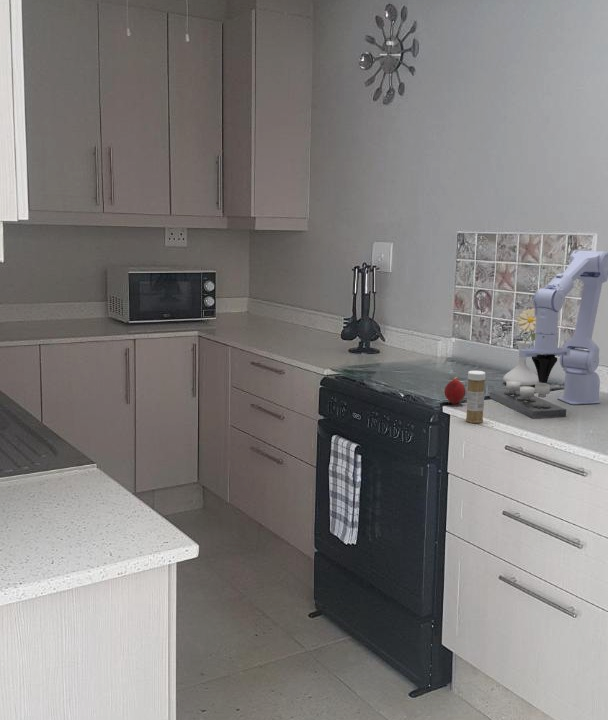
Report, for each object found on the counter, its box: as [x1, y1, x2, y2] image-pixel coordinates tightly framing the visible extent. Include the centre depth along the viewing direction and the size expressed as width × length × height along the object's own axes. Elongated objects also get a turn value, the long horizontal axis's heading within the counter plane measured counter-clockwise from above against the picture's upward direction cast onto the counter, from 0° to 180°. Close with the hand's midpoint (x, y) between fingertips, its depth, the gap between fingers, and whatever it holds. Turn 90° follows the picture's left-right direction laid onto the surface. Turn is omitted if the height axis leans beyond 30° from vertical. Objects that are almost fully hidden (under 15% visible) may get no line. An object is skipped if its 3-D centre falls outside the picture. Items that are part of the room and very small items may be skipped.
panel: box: [489, 390, 567, 419], centre depth 237 cm, size 10×25×2 cm, turn 15°
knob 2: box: [534, 382, 551, 399], centre depth 229 cm, size 4×4×3 cm
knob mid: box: [520, 386, 535, 400], centre depth 237 cm, size 4×4×3 cm
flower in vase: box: [502, 307, 540, 387], centre depth 264 cm, size 13×11×25 cm
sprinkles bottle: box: [465, 370, 486, 424], centre depth 219 cm, size 5×5×13 cm
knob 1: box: [505, 381, 521, 394], centre depth 244 cm, size 4×4×3 cm
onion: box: [444, 376, 466, 405], centre depth 239 cm, size 6×6×8 cm
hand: (542, 382), depth 228 cm, fingers closed
